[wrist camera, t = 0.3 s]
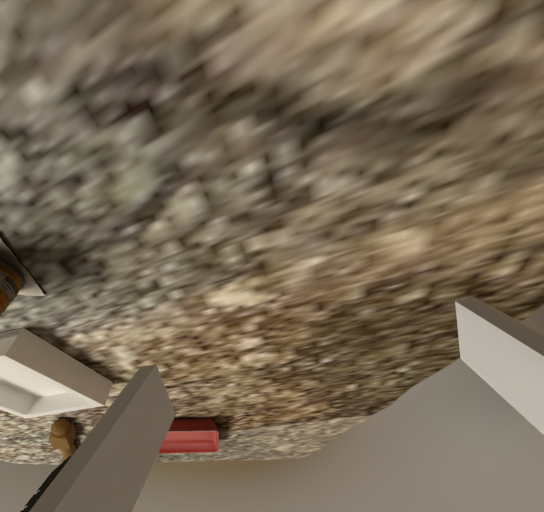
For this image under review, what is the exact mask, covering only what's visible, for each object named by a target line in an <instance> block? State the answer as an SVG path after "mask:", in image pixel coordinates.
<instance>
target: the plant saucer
mask: <svg viewBox="0 0 544 512" xmlns="http://www.w3.org/2000/svg"><path fill="white" fill-rule="evenodd" d="M218 449H219V431H218V429H217V427H216V425H215V423H214V422H213V421H212V419H209V418H203V419H173V421H172V424H171V426H170V428H169V430H168V433H167V435H166V437H165V439H164V441H163V444H162V446H161V448H160V450H159V452H158V453H201V452H218Z"/></svg>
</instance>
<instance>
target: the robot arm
mask: <svg viewBox="0 0 544 512" xmlns="http://www.w3.org/2000/svg"><path fill="white" fill-rule="evenodd" d="M455 304H456V315H457V325H458V336H459V346H460V357H461V360H463V361H464V362H465V363H466V364H467V365H468V366H469V367H470V368H471V369H473V370H474V371H475V372H476V373H477V374H478V375H479V376H480V377H481V378H482V379H483V380H484V381H486V382H487V383H488V384H489V385H490V386H491V387H492V388H493V389H494V390H496V391H497V392H498V393H499V394H500V395H501V396H502V397H503V398H504V399H505V400H506V401H507V402H508V403H510V404H511V405H512V406H513V407H514V408H515V409H516V410H517V411H518V412H519V413H521V414H522V415H523V416H524V417H525V418H526V419H527V420H528V421H529V422H530V423H531V424H533V425H534V426H535V427H536V428H537V429H538V430H539V431H540V432H541V433H542V434H544V335H543V334H541V333H539V332H537V331H535V330H534V329H532V328H530V327H528V326H526V325H525V324H522V323H521V322H519V321H517V320H515V319H513V318H512V317H510V316H508V315H506V314H504V313H502V312H500V311H499V310H497V309H495V308H493V307H491V306H489V305H488V304H486V303H484V302H482V301H480V300H478V299H476V298H475V297H473V298H469V299H464V300H459V301H455ZM175 415H176V414H175V412H174V409H173V406H172V404H171V401H170V399H169V396H168V394H167V391H166V388H165V386H164V383H163V381H162V378H161V376H160V373H159V370H158V368H157V365H156V364H155V365H150V366H146V367H141V368H139V370H138V371H137V372H136V374H135V375H134V376H133V378H132V379H131V380H130V381H129V383H128V384H127V385H126V387H125V388H124V389H123V390H122V392H121V393H120V394H119V396H118V397H117V398H116V400H115V401H114V402H113V403H112V405H111V406H110V407H109V409H108V410H107V411H106V413H105V414H104V415H103V416H102V418H101V419H100V420H99V422H98V423H97V424H96V426H95V427H94V428H93V429H92V431H91V432H90V433H89V435H88V436H87V437H86V439H85V440H84V441H83V442H82V444H81V445H80V446H79V448H78V449H77V450H76V451H75V453H74V454H73V455H72V456H69V457H68V458H67V459H66V460H65V461H64V462H63V463H61V464H60V465H59V466H58V467H57V468H56V469H55V470H54V471H53V472H52V473H51V474H50V475H49V477H48V478H47V479H46V480H45V482H44V483H43V484H42V486H41V487H40V488H39V489H38V490H37V494H35V495H33V497H32V498H31V499H30V500H29V502H28V503H27V504H26V505H25V508H24V510H23V511H21V512H132V510H133V508H134V506H135V503H136V501H137V499H138V497H139V495H140V492H141V490H142V488H143V486H144V483H145V481H146V479H147V477H148V475H149V472H150V470H151V468H152V466H153V464H154V461H155V459H156V457H157V455H158V452H159V450H160V448H161V446H162V444H163V441H164V439H165V437H166V435H167V433H168V430H169V428H170V426H171V424H172V421H173V419H174V417H175Z"/></svg>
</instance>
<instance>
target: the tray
mask: <svg viewBox="0 0 544 512" xmlns="http://www.w3.org/2000/svg"><path fill="white" fill-rule="evenodd" d="M112 383H113V382H112V381H110V380H108V379H107V378H105V377H103V376H102V375H100V374H98V373H97V372H95V371H94V370H92V369H90V368H89V367H87V366H85V365H84V364H82V363H80V362H79V361H77V360H75V359H74V358H72V357H71V356H69V355H67V354H66V353H64V352H62V351H61V350H59V349H57V348H56V347H54V346H53V345H51V344H49V343H48V342H46V341H44V340H43V339H41V338H39V337H38V336H36V335H34V334H33V333H31V332H30V331H28V330H26V329H25V328H20V329H16V330H11V331H6V332H1V333H0V410H3V411H6V412H9V413H12V414H14V415H17V416H20V417H23V418H31V417H38V416H44V415H50V414H56V413H62V412H68V411H75V410H81V409H87V408H93V407H99V406H105V403H106V400H107V397H108V395H109V392H110V389H111V386H112Z"/></svg>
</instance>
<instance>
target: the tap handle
mask: <svg viewBox="0 0 544 512" xmlns="http://www.w3.org/2000/svg"><path fill="white" fill-rule="evenodd" d="M68 429H69V430H68ZM51 431H52V432H51V435H50V437H49V440H50V442H51V444H52V446H53V448H54V449H61V450H62V454H63V459H64V461H65V460H66V459H67V458H68V457H69V456H72V455H73V454H74V453H75V451H76V450H77V449H76V447H75V445H74V443H73V441H74V438H75V436H76V432H75V428H74V424H73V423H69V421H68V420H67V419H66V418H60V419H58V420H56V421H55V422H54V423H53V425H52V428H51ZM67 431H68V432H67ZM66 432H67V433H66ZM65 433H66V434H65Z"/></svg>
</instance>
